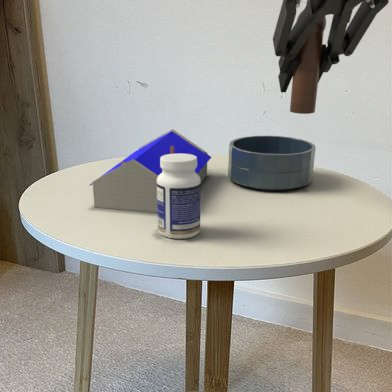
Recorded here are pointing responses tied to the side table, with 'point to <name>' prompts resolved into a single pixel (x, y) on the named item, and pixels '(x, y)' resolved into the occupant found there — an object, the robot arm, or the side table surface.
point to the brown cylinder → (307, 72)
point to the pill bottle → (178, 196)
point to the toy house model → (143, 174)
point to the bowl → (271, 162)
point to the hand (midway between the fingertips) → (296, 84)
